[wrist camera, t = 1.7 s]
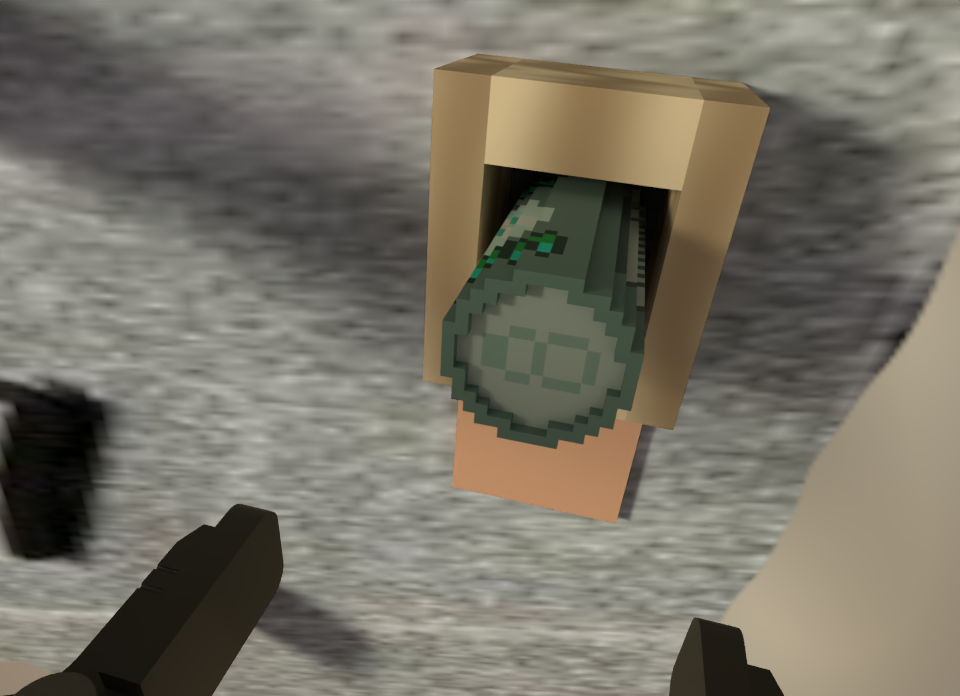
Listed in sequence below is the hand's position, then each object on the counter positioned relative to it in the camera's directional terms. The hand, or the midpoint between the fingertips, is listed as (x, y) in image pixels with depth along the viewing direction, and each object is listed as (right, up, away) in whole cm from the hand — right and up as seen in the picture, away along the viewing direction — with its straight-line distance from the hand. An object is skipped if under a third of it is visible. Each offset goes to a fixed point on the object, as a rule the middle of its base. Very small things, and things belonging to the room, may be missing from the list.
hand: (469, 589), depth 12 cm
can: (+5, +11, +20) cm, 24 cm away
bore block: (+5, +11, +20) cm, 23 cm away
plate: (+4, -1, +27) cm, 27 cm away
